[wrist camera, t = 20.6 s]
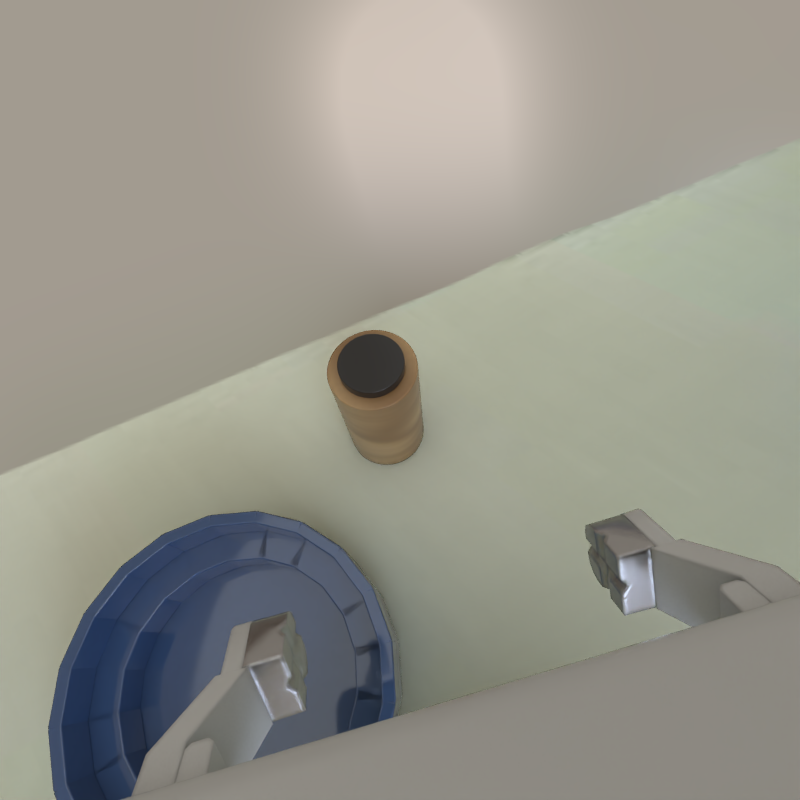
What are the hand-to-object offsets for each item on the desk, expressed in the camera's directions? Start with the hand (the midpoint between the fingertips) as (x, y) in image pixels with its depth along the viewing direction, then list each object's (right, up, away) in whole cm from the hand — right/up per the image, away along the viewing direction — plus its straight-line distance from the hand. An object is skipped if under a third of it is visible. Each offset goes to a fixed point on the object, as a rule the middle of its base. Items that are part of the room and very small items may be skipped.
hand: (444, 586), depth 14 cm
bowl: (-9, -9, +13) cm, 18 cm away
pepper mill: (-2, +3, +18) cm, 19 cm away
